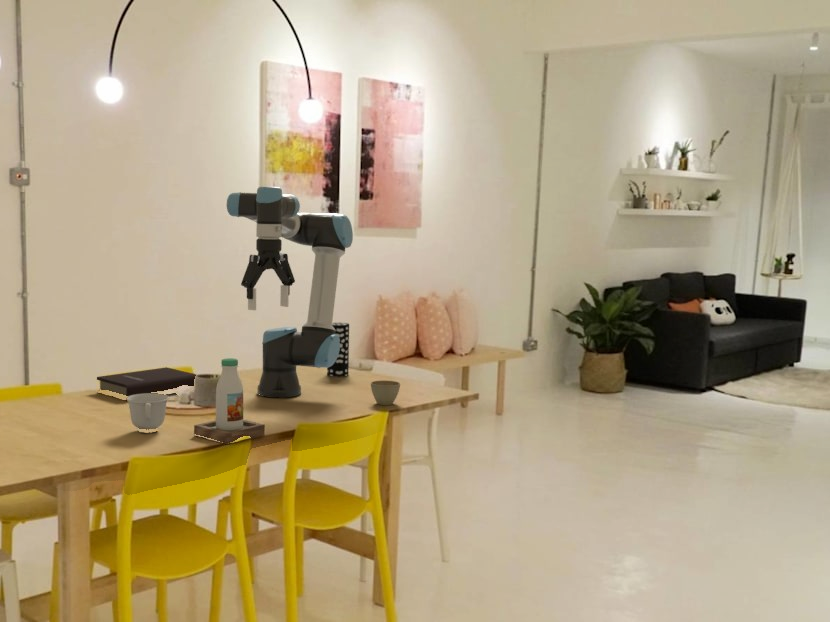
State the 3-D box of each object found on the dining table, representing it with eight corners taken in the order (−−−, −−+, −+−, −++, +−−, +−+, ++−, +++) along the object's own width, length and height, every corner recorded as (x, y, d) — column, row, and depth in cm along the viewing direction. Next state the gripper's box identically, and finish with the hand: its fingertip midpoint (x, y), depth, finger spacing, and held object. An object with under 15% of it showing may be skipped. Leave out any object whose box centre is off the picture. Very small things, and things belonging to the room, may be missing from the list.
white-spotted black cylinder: (352, 374, 366) (353, 323, 364) (339, 377, 359) (340, 326, 357) (335, 372, 371) (336, 322, 368) (322, 375, 364) (323, 324, 361)
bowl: (396, 407, 310) (396, 386, 309) (367, 405, 312) (367, 384, 311) (402, 401, 320) (403, 381, 319) (374, 399, 321) (374, 379, 321)
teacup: (125, 439, 261) (125, 404, 260) (126, 427, 275) (126, 393, 274) (170, 437, 264) (170, 403, 263) (168, 425, 278) (168, 392, 277)
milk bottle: (216, 432, 263) (216, 361, 261) (215, 425, 271) (215, 357, 268) (244, 430, 265) (244, 361, 263) (242, 424, 273) (242, 356, 270)
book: (128, 403, 309) (128, 385, 308) (97, 393, 321) (96, 376, 321) (198, 391, 330) (198, 374, 329) (166, 383, 342) (166, 367, 342)
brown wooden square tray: (194, 436, 267) (194, 425, 266) (231, 427, 278) (231, 416, 277) (227, 444, 258) (227, 433, 258) (264, 435, 270) (264, 424, 269)
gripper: (246, 239, 270) (246, 312, 272) (306, 238, 290) (305, 306, 292) (229, 238, 274) (229, 310, 277) (289, 237, 294) (288, 304, 296)
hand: (268, 308), depth 284 cm, fingers open, 13 cm apart
